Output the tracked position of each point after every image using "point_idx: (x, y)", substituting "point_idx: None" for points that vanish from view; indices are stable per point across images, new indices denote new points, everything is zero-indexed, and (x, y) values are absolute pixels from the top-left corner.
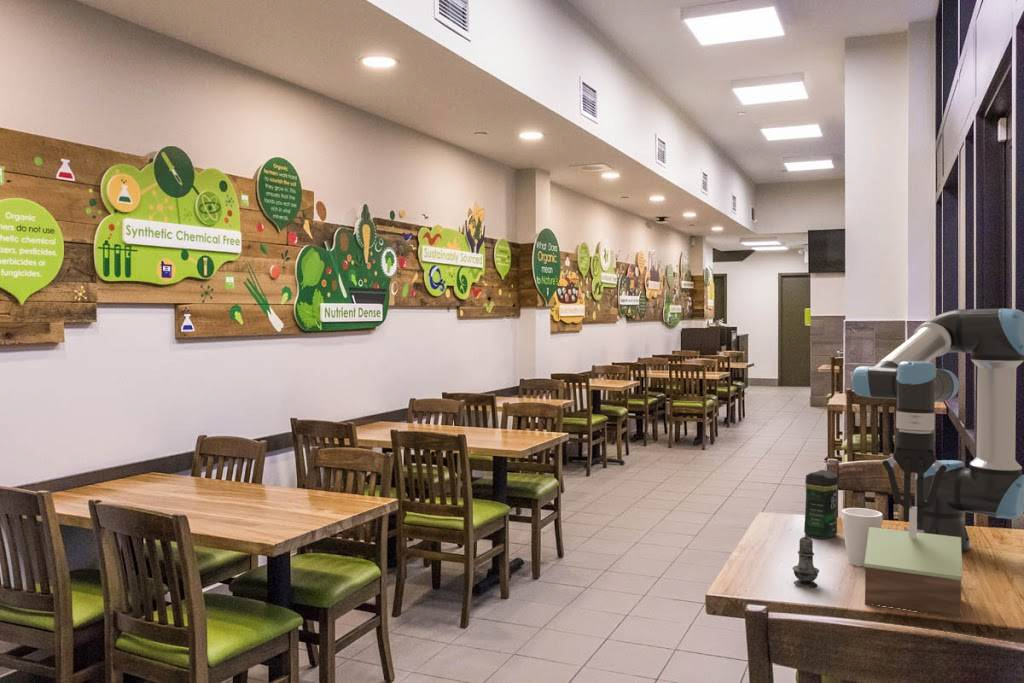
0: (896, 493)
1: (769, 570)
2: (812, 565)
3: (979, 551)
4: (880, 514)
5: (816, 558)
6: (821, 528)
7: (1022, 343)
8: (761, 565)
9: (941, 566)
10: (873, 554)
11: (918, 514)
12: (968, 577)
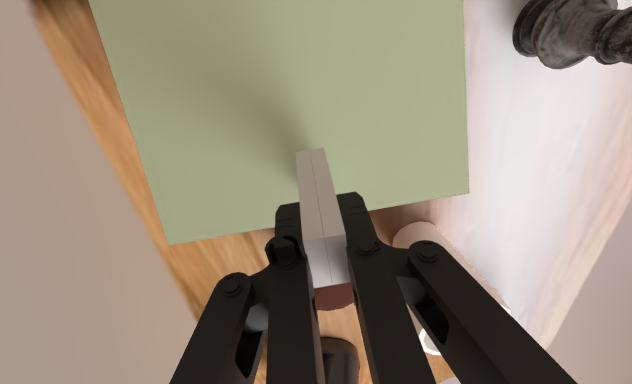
0: (463, 300)
1: (614, 83)
2: (572, 27)
3: (266, 363)
4: (421, 337)
5: (494, 218)
6: None
7: None
8: (624, 109)
9: (173, 23)
10: (432, 4)
11: (296, 232)
12: (244, 270)
